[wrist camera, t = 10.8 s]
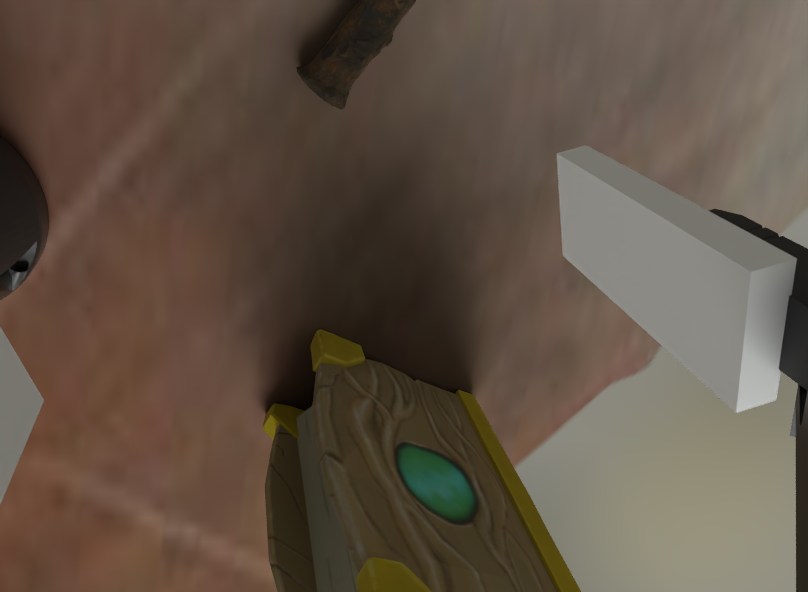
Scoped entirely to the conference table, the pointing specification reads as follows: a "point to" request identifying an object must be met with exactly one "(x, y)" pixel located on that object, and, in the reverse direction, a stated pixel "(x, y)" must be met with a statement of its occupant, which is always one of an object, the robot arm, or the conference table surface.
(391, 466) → the decorative book
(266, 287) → the conference table surface
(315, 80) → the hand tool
